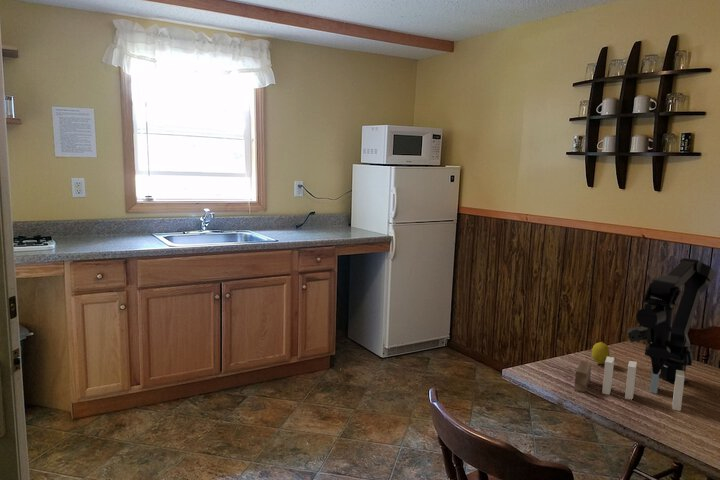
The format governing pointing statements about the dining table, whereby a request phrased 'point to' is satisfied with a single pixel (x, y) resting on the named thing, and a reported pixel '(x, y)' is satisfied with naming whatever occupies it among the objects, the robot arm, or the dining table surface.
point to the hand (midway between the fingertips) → (655, 371)
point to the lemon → (600, 352)
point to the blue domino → (654, 382)
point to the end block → (582, 376)
